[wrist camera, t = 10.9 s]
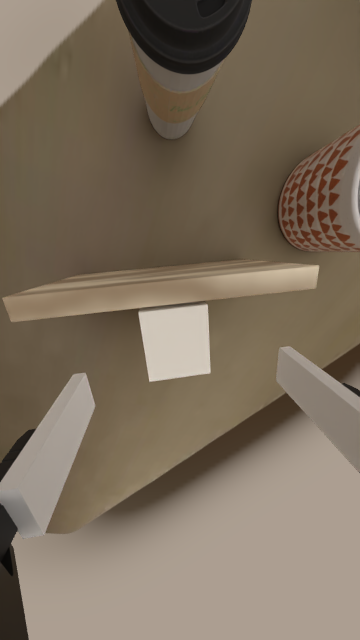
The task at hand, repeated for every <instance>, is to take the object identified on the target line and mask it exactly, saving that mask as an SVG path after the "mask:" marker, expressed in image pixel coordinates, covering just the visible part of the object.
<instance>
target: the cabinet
mask: <svg viewBox="0 0 360 640" xmlns="http://www.w3.org/2000/svg"><path fill="white" fill-rule="evenodd" d="M138 313H139V319H140V325H141V332H142V338H143V344H144V350H145V356H146V362H147V369H148V375H149V381H150V382H151V381H158V380H165V379H172V378H179V377H187V376H194V375H201V374H208V373H210V349H209V322H208V305H207V303H206V302H205V301H198V302H189V303H180V304H171V305H162V306H153V307H144V308H140V309H139V312H138Z"/></svg>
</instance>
